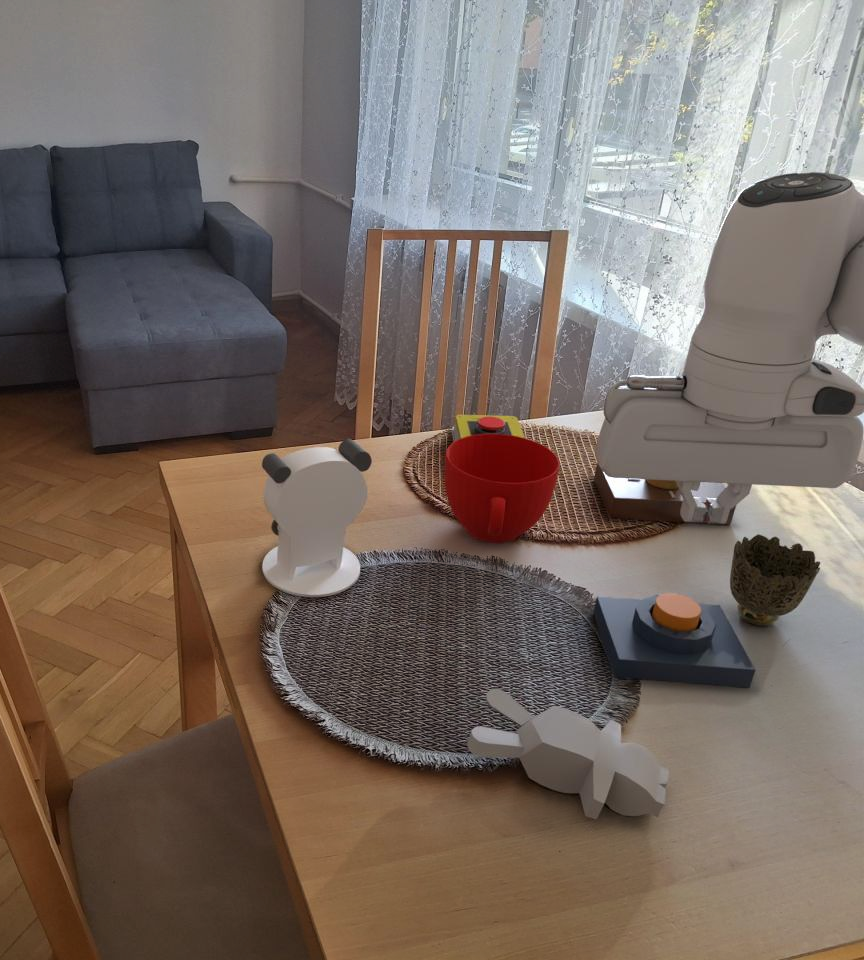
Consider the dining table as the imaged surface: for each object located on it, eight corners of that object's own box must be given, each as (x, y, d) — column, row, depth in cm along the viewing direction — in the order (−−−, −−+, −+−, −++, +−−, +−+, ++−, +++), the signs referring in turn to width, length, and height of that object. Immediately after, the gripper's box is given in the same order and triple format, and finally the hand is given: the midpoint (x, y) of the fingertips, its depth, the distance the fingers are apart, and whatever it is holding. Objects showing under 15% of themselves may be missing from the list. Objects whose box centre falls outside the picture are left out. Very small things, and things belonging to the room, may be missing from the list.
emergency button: (517, 404, 128) (535, 449, 115) (513, 430, 130) (531, 478, 117) (453, 402, 129) (464, 447, 116) (450, 429, 131) (461, 475, 118)
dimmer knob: (674, 472, 111) (681, 446, 109) (689, 489, 107) (696, 462, 105) (639, 472, 111) (645, 446, 109) (652, 489, 107) (659, 462, 105)
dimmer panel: (704, 485, 114) (710, 464, 112) (730, 525, 105) (737, 502, 104) (593, 480, 116) (597, 459, 114) (610, 518, 107) (614, 496, 106)
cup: (704, 618, 90) (723, 555, 86) (729, 587, 94) (749, 526, 90) (784, 650, 85) (808, 585, 81) (806, 616, 89) (830, 553, 86)
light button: (690, 608, 86) (694, 594, 85) (702, 634, 82) (707, 619, 81) (647, 605, 86) (651, 591, 85) (658, 630, 83) (662, 616, 82)
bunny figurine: (667, 817, 63) (469, 731, 69) (645, 859, 66) (456, 773, 72) (679, 733, 71) (498, 661, 76) (658, 774, 73) (485, 702, 79)
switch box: (714, 621, 89) (724, 590, 87) (749, 688, 81) (761, 655, 79) (593, 613, 91) (599, 582, 89) (614, 677, 82) (622, 644, 81)
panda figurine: (337, 532, 107) (341, 423, 99) (383, 582, 97) (391, 465, 90) (248, 553, 103) (245, 441, 96) (286, 606, 94) (286, 487, 86)
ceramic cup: (430, 567, 99) (438, 493, 94) (442, 496, 113) (449, 428, 109) (549, 584, 96) (563, 507, 91) (546, 509, 110) (558, 438, 105)
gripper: (619, 389, 71) (589, 531, 77) (893, 398, 68) (838, 545, 74) (602, 361, 76) (576, 496, 83) (855, 368, 73) (807, 508, 80)
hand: (702, 519), depth 79 cm, fingers closed
